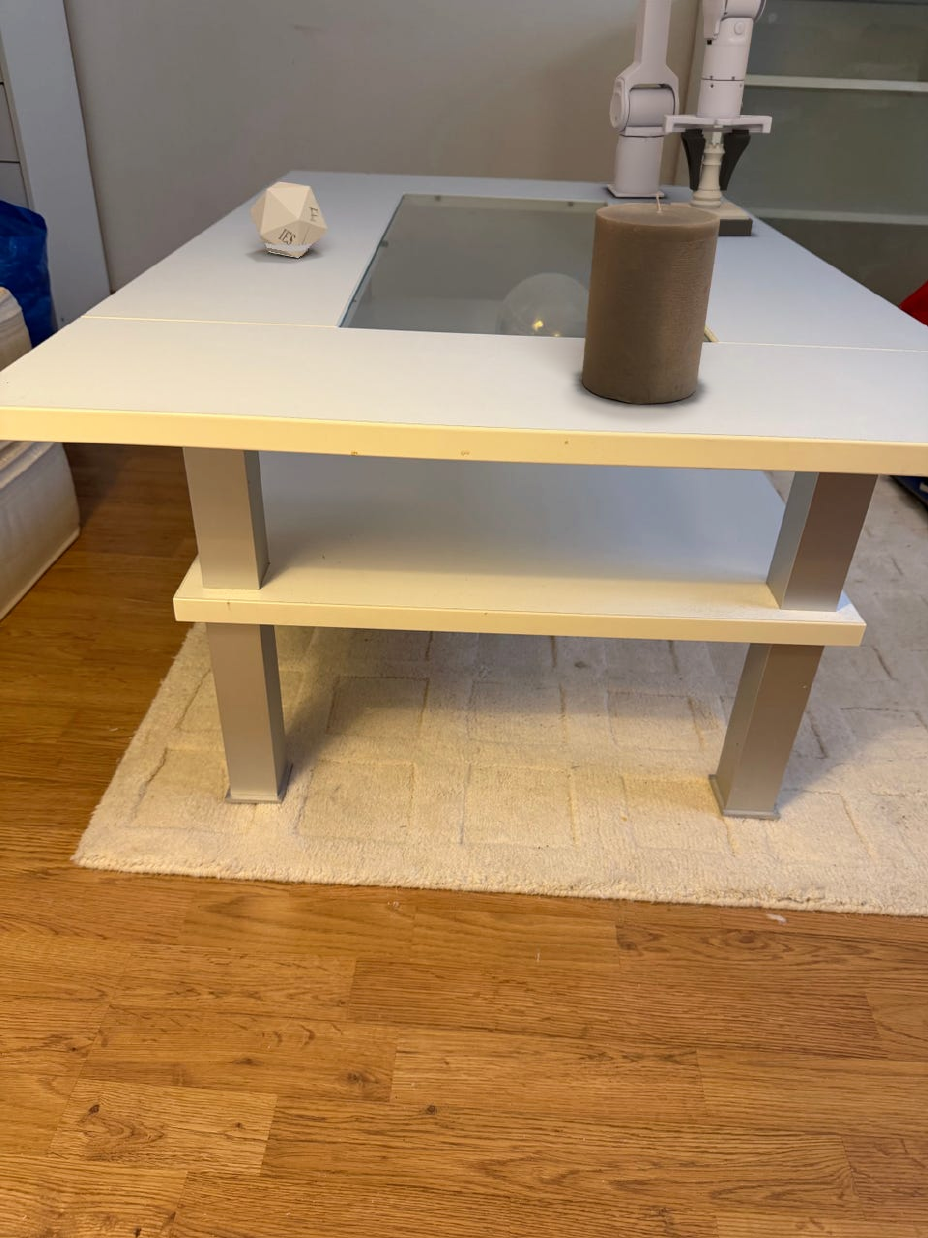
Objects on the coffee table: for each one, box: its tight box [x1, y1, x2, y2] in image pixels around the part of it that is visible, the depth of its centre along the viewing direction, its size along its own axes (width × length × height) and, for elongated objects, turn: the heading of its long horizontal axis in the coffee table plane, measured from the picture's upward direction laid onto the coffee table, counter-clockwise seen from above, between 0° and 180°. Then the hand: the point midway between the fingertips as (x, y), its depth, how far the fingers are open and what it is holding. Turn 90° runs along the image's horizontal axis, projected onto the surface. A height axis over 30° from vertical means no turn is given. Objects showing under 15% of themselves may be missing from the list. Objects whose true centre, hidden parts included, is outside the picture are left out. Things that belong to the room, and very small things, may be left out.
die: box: [249, 181, 329, 258], centre depth 118 cm, size 8×9×10 cm
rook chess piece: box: [689, 142, 725, 209], centre depth 133 cm, size 4×4×8 cm
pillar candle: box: [581, 195, 720, 405], centre depth 77 cm, size 10×10×15 cm
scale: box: [669, 202, 754, 237], centre depth 135 cm, size 10×10×3 cm
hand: (707, 189), depth 134 cm, fingers closed on rook chess piece, 3 cm apart
